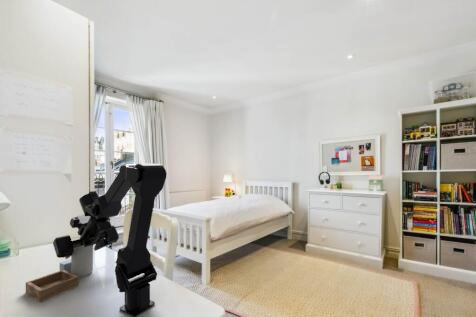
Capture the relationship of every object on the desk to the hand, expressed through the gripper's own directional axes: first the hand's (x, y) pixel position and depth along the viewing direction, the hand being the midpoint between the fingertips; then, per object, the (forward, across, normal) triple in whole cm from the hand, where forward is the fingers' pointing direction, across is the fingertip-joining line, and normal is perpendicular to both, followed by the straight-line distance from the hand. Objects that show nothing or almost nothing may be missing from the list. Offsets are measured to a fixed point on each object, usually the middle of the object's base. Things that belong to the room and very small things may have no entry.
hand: (81, 253), depth 84 cm
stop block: (+8, 0, +2) cm, 8 cm away
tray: (+1, +10, +8) cm, 13 cm away
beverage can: (+4, 0, +6) cm, 7 cm away
